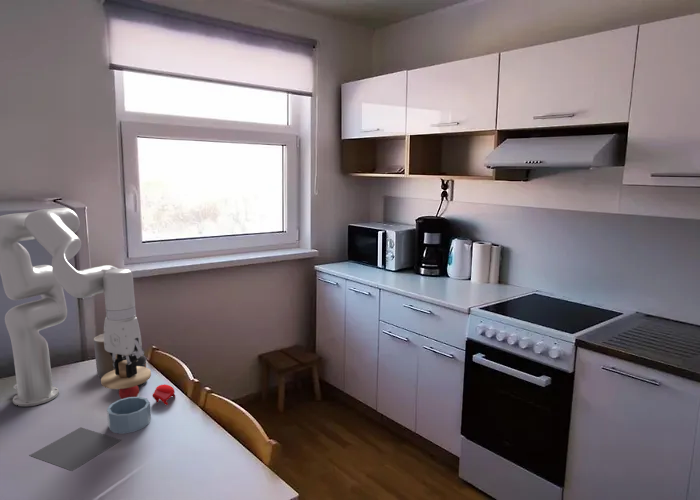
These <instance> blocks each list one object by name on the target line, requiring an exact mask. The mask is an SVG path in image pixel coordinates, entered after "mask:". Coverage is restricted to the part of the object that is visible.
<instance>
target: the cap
mask: <svg viewBox="0 0 700 500" xmlns="http://www.w3.org/2000/svg"><path fill="white" fill-rule="evenodd" d="M175 393H176V391H175V389H174V387H173V386H171V385H169V384H160V385H157V387H155V390H154V392H153V393H152V395H151V396H152V398H153V399H154V400H155V402H156V403H160V402H162V403H163V404H164V405H165V406H168V405H169V403H168V400H169V399H171V398H176V396H177V395H175ZM159 401H160V402H159Z"/></svg>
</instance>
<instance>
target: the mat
mask: <svg viewBox="0 0 700 500" xmlns="http://www.w3.org/2000/svg"><path fill="white" fill-rule="evenodd" d="M121 441H122V439H120V438H117V437H114V436H110V435H107V434H104V433H100V432H97V431H94V430H90V429H88V428H84V427H79V428H76V429H75V430H73V431H71V432H69V433H68V434H65V435H64V436H62V437H60V438H59V439H57V440H54V441H53V442H51V443H49V444H47V445H45V446H44V447H42V448H40V449H39V450H36V451H34V452H32V453H31V454H29V457H32V458H35V459H37V460H41V461H42V462H46V463H48V464H52V465H54V466H56V467H60V468H63V469H66V470H68V471H71V472H73V471H75V470H76V469H77V468H80V467H81V466H83V465H84V464H86V463H87V462H90V460H92V459H94V458H96V457H97V456H98V455H101V454H102V453H103V452H106V451H107V450H108V449H110V448H112V447H113V446H114V445H117V444H119V443H120V442H121Z"/></svg>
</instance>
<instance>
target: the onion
mask: <svg viewBox="0 0 700 500" xmlns="http://www.w3.org/2000/svg"><path fill="white" fill-rule="evenodd" d="M139 388H140V387H138V386H134V387H130V388H124V389H118V396H119V398H120V399H124V398H128V397H138V395H139V392H140V389H139Z"/></svg>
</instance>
